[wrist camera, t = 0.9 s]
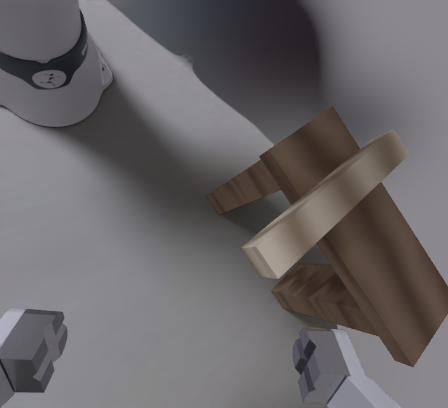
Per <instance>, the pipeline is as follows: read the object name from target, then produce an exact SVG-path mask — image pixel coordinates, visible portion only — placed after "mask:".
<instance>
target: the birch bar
mask: <svg viewBox="0 0 448 408" xmlns="http://www.w3.org/2000/svg"><path fill="white" fill-rule="evenodd" d="M408 155H409V152H408V151H407V149H406V148H405V146H404V144H403V143H402V141H401V140H400V138H399V136H398V135H397V134H396V132H395V131H394V130H392V131H390V132H388V133H386V134H383V135H381V136H379V137H377V138H375V139H372V140H371V141H369V142H368V143H367V144H365V145H364V146H363V147H362V148H361V149H359V150H358V151H357V152H356V153H354V154H353V155H352V156H351V157H350V158H348V159H347V160H346V161H345V162H344V163H342V164H341V165H340V166H339V167H338V168H336V169H335V170H334V171H333V172H332V173H330V174H329V175H328V176H327V177H325V178H324V179H323V180H322V181H321V182H319V183H318V184H317V185H316V186H315V187H313V188H312V189H311V190H310V191H309V192H307V193H306V194H305V195H304V196H303V197H301V198H300V199H299V200H298V201H296V202H295V203H294V204H293V205H292V206H290V207H289V208H288V209H287V210H286V211H284V212H283V213H282V214H281V215H280V216H278V217H277V218H276V219H275V220H274V221H272V222H271V223H270V224H269V225H267V226H266V227H265V228H264V229H263V230H261V231H260V232H259V233H258V234H257V235H255V236H254V237H253V238H252V239H251V240H249V241H248V242H247V243H246V244H245V245H243V246H242V247H241V248H240V249H241V250H242V251H243V253H244V254H245V256H246V257H247V259H248V260H249V262H250V263H251V265H252V266H253V267H254V269H255V270H256V272H257V273H258V275H259V276H260V277H266V278H274V279H279V278H280V277H281V276H282V275H283V274H284V273H285V272H286V271H287V270H288V269H290V268H291V267H292V266H293V265H294V264H295V263H296V262H297V261H298V260H299V259H300V258H301V257H302V256H303V255H304V254H305V253H306V252H307V251H308V250H309V249H311V248H312V247H313V246H314V245H315V244H316V243H317V242H318V241H319V240H320V239H321V238H322V237H323V236H324V235H325V234H326V233H327V232H328V231H329V230H330V229H332V228H333V227H334V226H335V225H336V224H337V223H338V222H339V221H340V220H341V219H342V218H343V217H344V216H345V215H346V214H347V213H348V212H349V211H350V210H351V209H353V208H354V207H355V206H356V205H357V204H358V203H359V202H360V201H361V200H362V199H363V198H364V197H365V196H366V195H367V194H368V193H369V192H370V191H371V190H372V189H374V188H375V187H376V186H377V185H378V184H379V183H380V182H381V181H382V180H383V179H384V178H385V177H386V176H387V175H388V174H389V173H390V172H391V171H392V170H393V169H394V168H395V167H397V166H398V165H399V164H400V163H401V162H402V161H403V160H404V159H405V158H406V157H407V156H408Z"/></svg>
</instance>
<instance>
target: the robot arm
mask: <svg viewBox="0 0 448 408" xmlns="http://www.w3.org/2000/svg"><path fill="white" fill-rule="evenodd" d="M102 69H103V70H104V71H102ZM112 81H113V76H112V72H111V71H110V69H109V67H108V66H107V64H106V62H105V61H104V59H103V57H102V56H101V54H100V52H99V49H98V47H96V46H95V44H94V42H93V41H92V39H91V37H90V36H89V34H88V33H87V27H86V24H85V21H84V17H83V14H82V12H81V10H80V8H79V2H78V0H0V105H3V106H5V107H7V108H8V109H10V110H11V111H12V112H14V113H15V114H16V115H18V116H19V117H21V118H23V119H25V120H27V121H29V122H31V123H34V124H38V125H42V126H49V127H62V126H68V125H72V124H75V123H77V122H80V121H82V120H83V119H85V118H86V117H88V116H89V115H90V114H91V113H92V112H93V111H94V110H95V108H96V107H97V105H98V103H99V100H100V97H101V94H102V92H103V91H104V90H105V89H106V88H107V87H108V86H109V85H110V84H111V83H112ZM63 320H64V315H63V312H59V311H47V310H34V309H23V308H11V309H9V310H8V311H7V312H6V313H5V314H4V315H3V317H2V318H1V320H0V407H1V406H2V405H3V404H5V403H6V402H7V401H8V400H9V399H10V398H11V397H12V396H13V395H14V392H29V393H44V392H45V389H46V387H47V385H48V383H49V381H50V379H51V377H52V374H53V372H54V367H53V362H54V361H56V360H57V359H58V358H59V357H61V355H62V352H63V350H64V348H65V344H66V340H67V327H66V326H65V325H64V324H63V323H62V322H63ZM299 335H300V338H299V339H297V340H296V341H295V343H294V346H293V362H294V366H295V369H296V370H297V371H298V372H299V374H300V375H301V376H300V378H299V380H298V384H299V388H300V392H301V396H302V400H303V403H317V404H328V405H327V407H328V408H401V407H400V406H399V405H398V404H397V403H396V402H395V401H394V400H393V399H392V398H391V397H390V396H389V395H388V394H387V393H386V392H385V391H384V390H383V389H382V388H381V387H380V386H379V385H378V384H377V383H376V382H375V381H374V380H373V379H372V378H369V377H366V375H365V372H364V370H363V368H362V365H361V363H360V361H359V358H358V357H357V354H356V352H355V349H354V347H353V345H352V342H351V340H350V338H349V336H348V333H347V332H346V331H345V330H342V329H341V330H340V329H329V328H309V327H303V328H302V329H301V330H300V332H299Z"/></svg>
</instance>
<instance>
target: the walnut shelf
mask: <svg viewBox="0 0 448 408" xmlns="http://www.w3.org/2000/svg"><path fill="white" fill-rule="evenodd" d="M359 149H360V148H359V147H358V145H357V143H356V142H355V140H354V139H353V137H352V136H351V134H350V133H349V131H348V129H347V128H346V126H345V125H344V123H343V122H342V120H341V118H340V117H339V115H338V114H337V112H336V111H335V109H334V107H333V106H332V107H331V108H329V109H328V110H326V111H325V112H324V113H322V114H321V115H319V116H318V117H317V118H315V119H313V120H312V121H310V122H309V123H307V124H306V125H305V126H303V127H302V128H300V129H299V130H297V131H296V132H294V133H293V134H291V135H290V136H288V137H287V138H285V139H284V140H283V141H281V142H280V143H278V144H277V145H275V146H274V147H272V148H271V149H269V150H268V151H266V152H265V153H263V154H262V155H261V156H259V157H260V159H261V160H260V161H258V162H257V163H255V164H254V165H252V166H251V167H249V168H248V169H246V170H244V171H243V172H241V173H240V174H238V175H237V176H236V177H234V178H233V179H231V180H230V181H228V182H227V183H225V184H224V185H223V186H221V187H220V188H218V189H217V190H215V191H214V192H212V193H211V194H209V195H208V196H207V199H208V200H209V201H210V203H211V204H212V206H213V207H214V209H215V210H216V212H217V213H218V215H220V214H222V213H225V212H227V211H230V210H232V209H235V208H237V207H240V206H242V205H245V204H247V203H249V202H252V201H254V200H257V199H259V198H262V197H264V196H267V195H269V194H272V193H274V192H277V191H279V190H282V192H283V193H284V195H285V196H286V198H287V199H288V201H289V202H290V204H291V205H293V204H294V203H295V202H296V201H298V200H299V199H300V198H301V197H303V196H304V195H305V194H306V193H307V192H309V191H310V190H311V189H312V188H313V187H315V186H316V185H317V184H318V183H319V182H321V181H322V180H323V179H324V178H325V177H327V176H328V175H329V174H330V173H332V172H333V171H334V170H335V169H336V168H338V167H339V166H340V165H341V164H342V163H344V162H345V161H346V160H347V159H348V158H350V157H351V156H352V155H353V154H354V153H356V152H357V151H358V150H359ZM317 244H318V246H319V247H320V249H321V250H322V252H323V253H324V255H325V256H326V258H327V259H328V261H329V262H330V264H331V265H322V264H298V265H297V266H296V267H295V268H294V269H293V270H292V271H291V272H290V273H289V274H288V275H287V276H286V277H285V278H284V279H283V280H282V281H280V282H279V283H278V284H277V285H276V286H275V287H274V288H273V289H272V290H271V292H272V293H273V295H274V296H275V297H276V299H277V300H278V302H279V303H280V305H281V306H282V308H284V309H288V310H291V311H294V312H298V313H301V314H305V315H308V316H311V317H315V318H318V319H322V320H325V321H328V322H332V323H335V324H339V325H342V326H346V327H349V328H352V329H356V330H359V331H362V332H366V333H369V334H373V335H376V336H379V337H380V339H381V340H382V342H383V343H384V345H385V346H386V347H387V349H388V351H389V352H390V354H391V355H392V357H393V358H394V360H395V361H398V362H400V363H403V364H406V365H408V366H411V367H414V365H415V363H416V362H417V361H418V359H419V358H420V356H421V354H422V353H423V351H424V350H425V348H426V346H427V345H428V344H429V342H430V341H431V339H432V337H433V336H434V334H435V333H436V331H437V330H438V328H439V327H440V325H441V323H442V322H443V320H444V319H445V317H446V316H447V314H448V286H447V285H446V283H445V281H444V280H443V278H442V276H441V275H440V273H439V272H438V270H437V269H436V267H435V266H434V264H433V262H432V261H431V259H430V258H429V256H428V255H427V253H426V251H425V250H424V248H423V247H422V245H421V244H420V242H419V240H418V239H417V237H416V236H415V234H414V233H413V231H412V230H411V228H410V226H409V225H408V223H407V222H406V220H405V219H404V217H403V216H402V214H401V212H400V211H399V209H398V208H397V206H396V205H395V203H394V201H393V200H392V198H391V197H390V195H389V194H388V192H387V190H386V189H385V187H384V186H383V184H382V183H381V182H380V183H379V184H378V185H377V186H376V187H375V188H374V189H372V190H371V191H370V192H369V193H368V194H367V195H366V196H365V197H364V198H363V199H362V200H361V201H360V202H359V203H358V204H357V205H356V206H355V207H354V208H353V209H351V210H350V211H349V212H348V213H347V214H346V215H345V216H344V217H343V218H342V219H341V220H340V221H339V222H338V223H337V224H336V225H335V226H334V227H333V228H332V229H330V230H329V231H328V232H327V233H326V234H325V235H324V236H323V237H322V238H321V239H320V240H319V241H318V242H317Z"/></svg>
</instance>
